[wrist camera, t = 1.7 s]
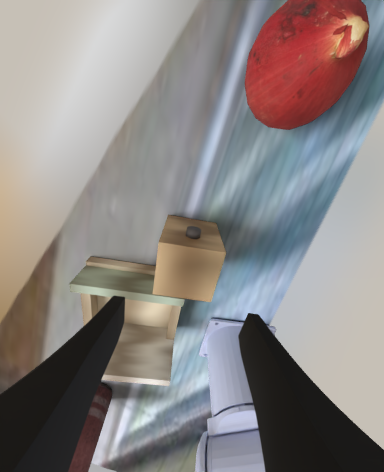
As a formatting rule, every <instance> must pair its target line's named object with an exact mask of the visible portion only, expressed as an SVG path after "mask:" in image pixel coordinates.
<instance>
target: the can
mask: <svg viewBox="0 0 384 472" xmlns="http://www.w3.org/2000/svg"><path fill="white" fill-rule="evenodd" d="M111 398H112V390H111V388H110V387H109V386H107V385H106V384H103V383H100V384H99V386H98V389H97V391H96V394H95V396H94V399H93V401H92V404H91V407H90V410H89V413H88V415H87V418H86V421H85V424H84V427H83V430H82V433H81V435H80V438H79V441H78V444H77V447H76V450H75V453H74V456H73V459H72V462H71V465H70V468H69V471H68V472H88V470H89V467H90V464H91V461H92V458H93V455H94V452H95V448H96V445H97V442H98V439H99V436H100V433H101V430H102V427H103V423H104V420H105V417H106V414H107V411H108V408H109V405H110V402H111Z"/></svg>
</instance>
